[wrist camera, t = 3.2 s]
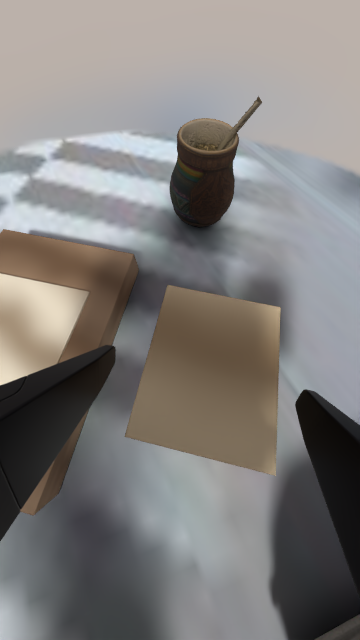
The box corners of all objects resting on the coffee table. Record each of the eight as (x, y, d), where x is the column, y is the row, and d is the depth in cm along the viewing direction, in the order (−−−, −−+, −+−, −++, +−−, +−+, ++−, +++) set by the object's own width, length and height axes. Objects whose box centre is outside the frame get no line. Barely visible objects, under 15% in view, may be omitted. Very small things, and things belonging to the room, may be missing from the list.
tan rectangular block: (214, 422, 15) (275, 475, 6) (156, 407, 15) (124, 436, 6) (224, 351, 17) (280, 307, 8) (172, 340, 18) (167, 284, 8)
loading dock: (58, 493, 13) (30, 517, 11) (-110, 445, 14) (-171, 457, 12) (138, 269, 20) (133, 252, 18) (22, 246, 21) (1, 227, 19)
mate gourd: (163, 200, 24) (155, 83, 15) (216, 189, 25) (239, 73, 16) (179, 241, 22) (181, 132, 13) (237, 227, 23) (278, 116, 13)
